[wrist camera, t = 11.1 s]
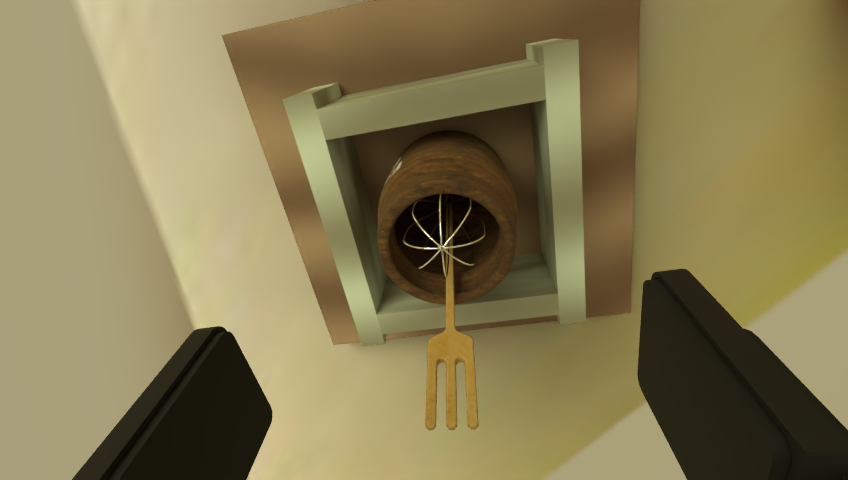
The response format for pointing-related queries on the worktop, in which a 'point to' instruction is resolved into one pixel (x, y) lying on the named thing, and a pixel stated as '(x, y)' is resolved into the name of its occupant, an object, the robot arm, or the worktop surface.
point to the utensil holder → (448, 243)
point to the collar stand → (461, 111)
